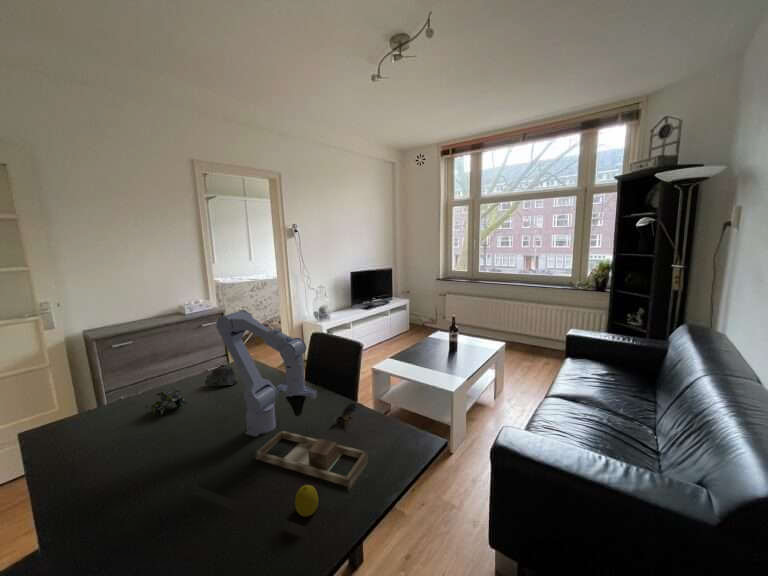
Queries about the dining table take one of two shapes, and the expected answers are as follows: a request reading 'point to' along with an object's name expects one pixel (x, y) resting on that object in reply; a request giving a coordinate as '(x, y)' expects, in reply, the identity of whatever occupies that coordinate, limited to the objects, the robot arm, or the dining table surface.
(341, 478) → the frame
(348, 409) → the eagle figurine
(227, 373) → the mineral rock
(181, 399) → the passion flower
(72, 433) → the dining table surface
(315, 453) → the walnut block
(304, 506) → the lemon
